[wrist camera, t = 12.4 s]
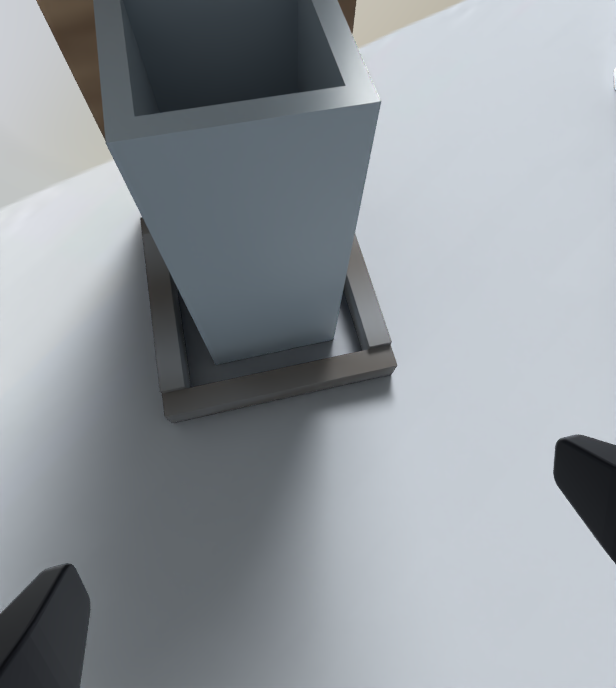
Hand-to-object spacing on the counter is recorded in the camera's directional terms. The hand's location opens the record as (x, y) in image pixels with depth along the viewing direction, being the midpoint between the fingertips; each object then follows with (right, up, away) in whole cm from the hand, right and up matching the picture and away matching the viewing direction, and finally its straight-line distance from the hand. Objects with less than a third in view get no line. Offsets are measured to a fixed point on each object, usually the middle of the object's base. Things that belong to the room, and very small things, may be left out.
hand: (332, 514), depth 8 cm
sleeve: (-3, +5, +13) cm, 15 cm away
